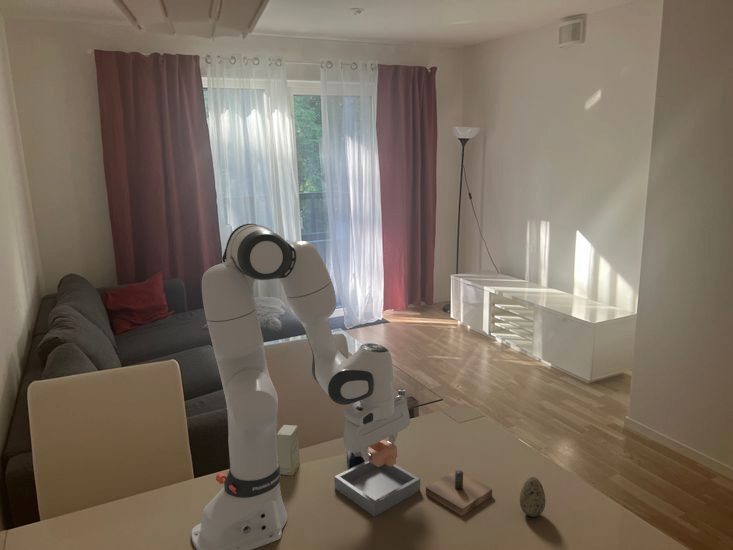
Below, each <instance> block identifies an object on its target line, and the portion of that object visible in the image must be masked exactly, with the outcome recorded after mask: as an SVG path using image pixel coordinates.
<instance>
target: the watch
mask: <svg viewBox="0 0 733 550" xmlns="http://www.w3.org/2000/svg"><path fill="white" fill-rule="evenodd" d="M363 462H365V461H364V459H363V458H362V456H361V451H359V452H357V453H352V452H350V451H349V450H348V451H346V463H347V466H348V470H349V469H351V468H353V467H355V466H357V465H359V464H361V463H363Z"/></svg>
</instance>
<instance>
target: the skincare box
mask: <svg viewBox="0 0 733 550" xmlns="http://www.w3.org/2000/svg"><path fill="white" fill-rule="evenodd" d="M298 429H299V426H298V425H296V424H295V425H293V424H292V425H291V424H283V425H282V426H281V427H280V429H279V430H278V431H277V432H276V440H277V459H278V462H279V465H280V475H284V476H285V475H286V476H294V474H295V473H296V471H297V470H298V468H299V466H300V464H301V463H300V462H301V461H300V445H299V430H298Z"/></svg>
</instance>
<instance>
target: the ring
mask: <svg viewBox="0 0 733 550" xmlns="http://www.w3.org/2000/svg"><path fill="white" fill-rule="evenodd" d="M387 441H388V440H387ZM387 441H386V439H383V440H381V441H379V442H377V443H375V444H373V445H371V446H369V447H368V450H367V452H369V453H371V454H372V457H371V458H372V460H370V461H369V462H370V463H372V464H374V465H375V466H377V467H380V466H382V465H384V464H386V465H388V466H390V467H391V466H393V465H395V464H396V465H397V458H398V447H397V445H395V446H394V445H393V444H391V443H389V442H387ZM361 456H362V458H363V454H362V452H361Z"/></svg>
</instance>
